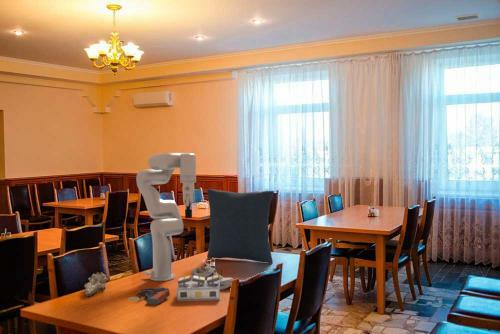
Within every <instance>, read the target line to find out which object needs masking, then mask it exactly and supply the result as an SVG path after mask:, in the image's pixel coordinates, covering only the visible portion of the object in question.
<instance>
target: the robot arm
mask: <svg viewBox="0 0 500 334" xmlns="http://www.w3.org/2000/svg"><path fill="white" fill-rule="evenodd" d="M147 164H148V166H149V168H146V169H142V170H139V171H138V172H137V173H136V177H135V178H136V179H135V180H136V186H137V188H138V190H139V192H140V194H141V195H142V197H143V201H144V203H145V206H146V209H147V212H148V215H149V216H150V218H151V219H153V220H152V221H151V223H150V228H149V229H150V233H151V240H152V241H151V242H152V269H151V270H145V271H144V275H146V276H149V277H150V279H149V280H151V281H154V282H165V281H166V282H167V281H171V280H173V279H175V278H176V277H175V274H174V273H172V243H171V242H170V241H171V240H169V239H168V237H169V236H177V235H181V234H182V233H183V232H184V228H185V226H184V225H185V224H184V220H183V218H182V215H181V213H180V210H179V207H178V204H177V203H176V201H175V200H173V199H162V198H161V195H160V192H159V191H158V190H157V189H156V188H155V187H154V186H152V185H164V184H167V183H169V181H170V179H171V177H172V175H173V172H174V171H175V169H179V183H181V184H182V201H183V202H182V203H183V204H184V205H185V206H184V207H185V208H184V213H185V214H184V218H185V219H192V218H193V209H192V207H193V206H192V204H194V203H195V201H196V199H195V193H196V192H195V183H197V157H196V154H195V153H189V152H188V153H187V152H166V153H165V152H164V153H156V154H152V155H151V156H150V157H149V158H148V159H147Z"/></svg>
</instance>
